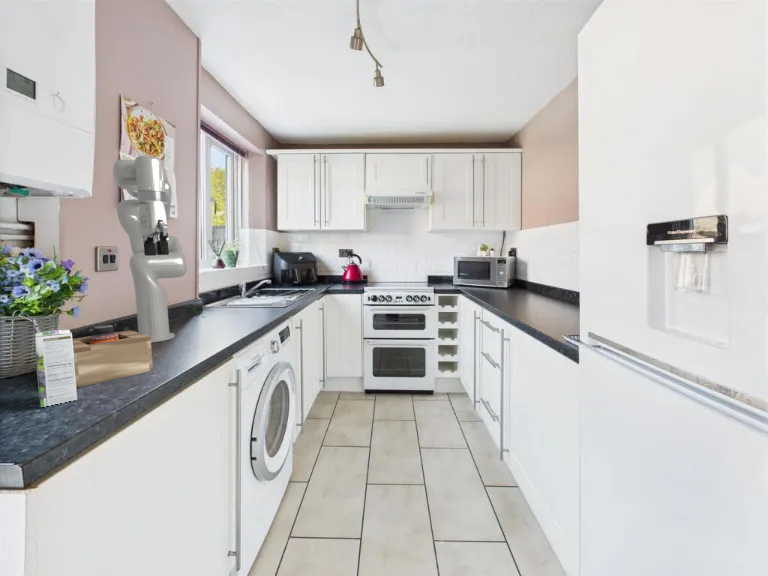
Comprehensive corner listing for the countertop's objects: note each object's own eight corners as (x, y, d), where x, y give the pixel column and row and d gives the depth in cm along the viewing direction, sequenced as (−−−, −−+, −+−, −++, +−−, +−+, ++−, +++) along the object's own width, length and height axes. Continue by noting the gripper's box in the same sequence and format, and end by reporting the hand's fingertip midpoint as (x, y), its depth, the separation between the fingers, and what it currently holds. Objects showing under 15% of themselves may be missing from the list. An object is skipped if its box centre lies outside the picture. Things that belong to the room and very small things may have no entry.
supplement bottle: (113, 365, 100) (110, 323, 99) (126, 367, 97) (122, 325, 97) (87, 371, 95) (84, 327, 94) (99, 374, 92) (96, 329, 91)
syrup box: (39, 401, 77) (32, 332, 76) (76, 393, 82) (69, 328, 80) (40, 408, 73) (33, 336, 72) (79, 400, 77) (72, 331, 76)
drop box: (60, 375, 94) (57, 341, 94) (133, 361, 107) (130, 330, 106) (75, 388, 85) (71, 349, 84) (153, 370, 97) (150, 336, 96)
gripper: (128, 201, 116) (132, 255, 118) (149, 194, 105) (153, 254, 107) (154, 203, 122) (158, 255, 123) (177, 197, 111) (181, 254, 112)
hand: (156, 255), depth 115 cm, fingers open, 9 cm apart
